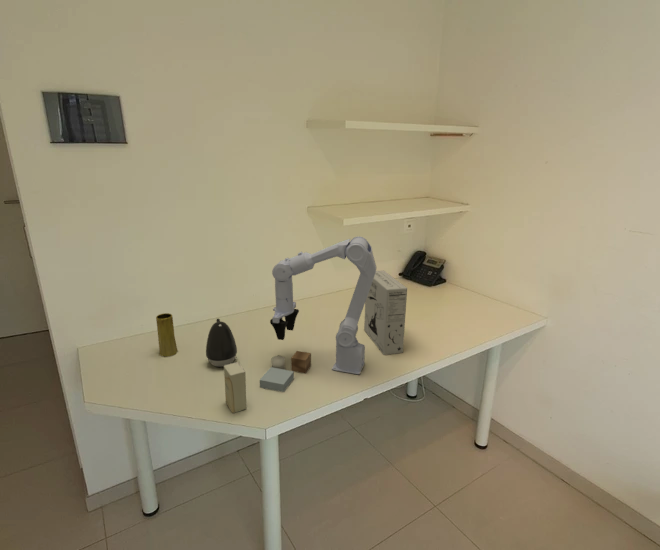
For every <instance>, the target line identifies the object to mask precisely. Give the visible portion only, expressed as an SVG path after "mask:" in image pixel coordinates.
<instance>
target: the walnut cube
mask: <svg viewBox="0 0 660 550" xmlns="http://www.w3.org/2000/svg"><path fill="white" fill-rule="evenodd" d="M290 364H291V365H290V366H291V367H290V368H291V370H290V371H294V372H295V373H301V374H307V373H308V371H309V369H310V368H311V367H312V353H311V352H306V351H300V350H296V351H295V353H294V354H293V355H292V356H291V359H290Z"/></svg>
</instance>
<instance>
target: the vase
mask: <svg viewBox="0 0 660 550" xmlns="http://www.w3.org/2000/svg"><path fill="white" fill-rule="evenodd" d="M155 319H156V326H157V338H158V339H157V340H158V349H159V354H158V355H160V356H161V357H172V356H175V355H176V354H177V353H178V351H179V350H178V347H177V342H176V336H175V329H174V327H175V326H174V319H173V314H172V313H168V312H166V313H164V312H163V313H160V314H158V315H156V316H155Z"/></svg>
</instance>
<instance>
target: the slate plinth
mask: <svg viewBox="0 0 660 550" xmlns="http://www.w3.org/2000/svg"><path fill="white" fill-rule="evenodd" d="M294 379H295V373H294V371H291V370H288V369H285V370H284V369H278V368H273V367H272V366H271V367H269V369H268V370H267V371H266V372H265V373H264V374H263V375H262V376H261V378H260V379H259V388H261V389H264V390H271V391H276V392H281V393H284V392H285V391H286V390H287V388H288V387H289V386H290V385H291V383H292V382H293V380H294Z"/></svg>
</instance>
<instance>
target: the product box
mask: <svg viewBox="0 0 660 550" xmlns="http://www.w3.org/2000/svg"><path fill="white" fill-rule="evenodd" d="M407 297H408V287H407V286H405V285H404V284H403V283H401V282H400V281H399V280H398V279H396V278H394V277H393V276H392V275H391V274H389V273H388V272H387V271H386V270H376V273H375V276H374V279H373V282H372V284H371V287H370V290H369V293H368V296H367V299H366V301H365V304H364V322H363V323H364V326H363V327H364V328H363V330H364V332H365V333H366V334H367V335H368V337H369V338H370V339H371V341H372V342H373V343H374V345H375V346H376V347H377V348H378V350H379V351H380V352H381V353H382V355H384V356H386V355H394V354H395V355H396V354H402V353H403V352H404V341H405V324H406V311H407Z"/></svg>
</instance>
